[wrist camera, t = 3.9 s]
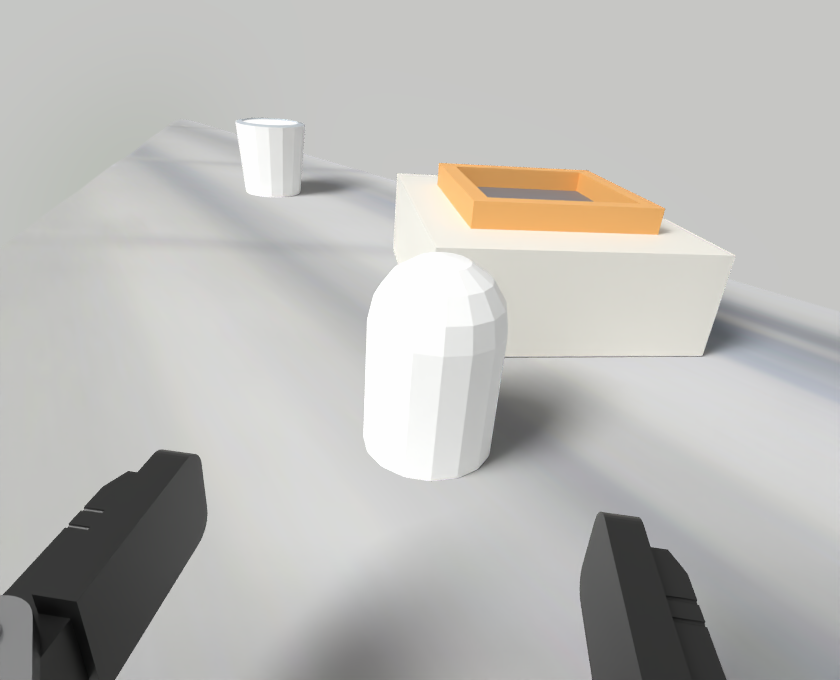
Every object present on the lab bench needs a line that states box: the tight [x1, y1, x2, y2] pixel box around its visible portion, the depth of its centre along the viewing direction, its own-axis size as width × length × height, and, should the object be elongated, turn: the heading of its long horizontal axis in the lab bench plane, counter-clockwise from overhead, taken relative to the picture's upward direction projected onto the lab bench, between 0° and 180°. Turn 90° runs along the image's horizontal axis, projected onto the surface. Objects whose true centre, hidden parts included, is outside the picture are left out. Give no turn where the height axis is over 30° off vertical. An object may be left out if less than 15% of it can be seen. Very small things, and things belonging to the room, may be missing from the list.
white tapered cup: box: [235, 118, 305, 197], centre depth 60 cm, size 7×7×7 cm
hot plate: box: [393, 163, 736, 357], centre depth 39 cm, size 16×21×8 cm
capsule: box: [363, 252, 508, 481], centre depth 22 cm, size 5×5×8 cm
